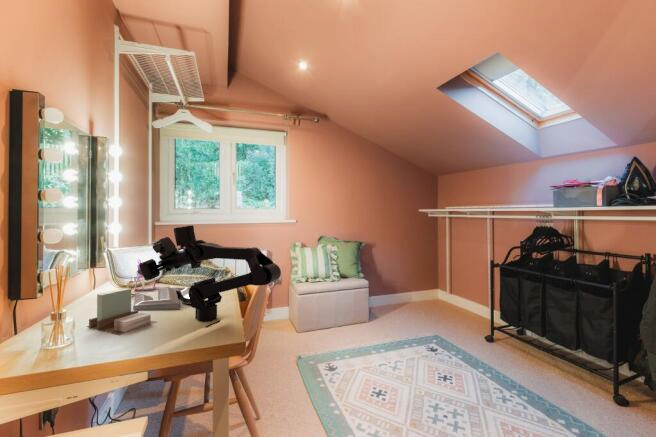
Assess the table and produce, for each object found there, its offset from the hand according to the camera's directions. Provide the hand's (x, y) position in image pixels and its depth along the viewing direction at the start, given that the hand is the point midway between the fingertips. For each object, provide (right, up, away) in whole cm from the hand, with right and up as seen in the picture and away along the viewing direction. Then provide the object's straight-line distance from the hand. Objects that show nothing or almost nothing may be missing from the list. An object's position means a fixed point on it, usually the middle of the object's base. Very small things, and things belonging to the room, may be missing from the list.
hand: (148, 267), depth 108 cm
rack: (0, -17, -14) cm, 22 cm away
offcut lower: (+4, -16, -16) cm, 23 cm away
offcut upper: (+4, -14, -16) cm, 22 cm away
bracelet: (-22, -17, +27) cm, 39 cm away
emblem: (0, -18, +14) cm, 23 cm away
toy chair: (-25, -17, +39) cm, 49 cm away
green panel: (-4, -16, -12) cm, 20 cm away
